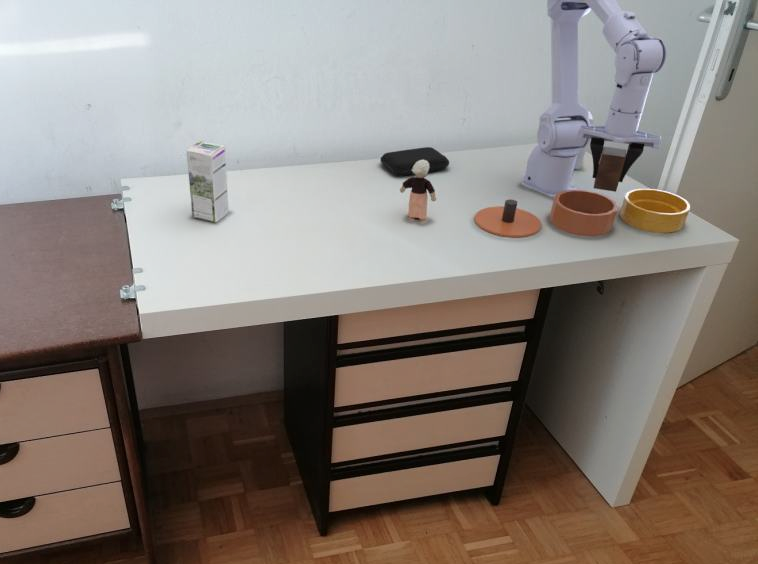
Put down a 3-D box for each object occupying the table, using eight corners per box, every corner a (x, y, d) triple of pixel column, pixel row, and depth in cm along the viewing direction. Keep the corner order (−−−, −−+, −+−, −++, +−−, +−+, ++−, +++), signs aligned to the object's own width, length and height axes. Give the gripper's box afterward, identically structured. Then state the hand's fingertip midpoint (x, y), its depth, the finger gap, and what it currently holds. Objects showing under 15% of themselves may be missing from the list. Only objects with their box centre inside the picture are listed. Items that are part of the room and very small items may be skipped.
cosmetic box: (581, 170, 171) (594, 119, 164) (562, 168, 172) (574, 118, 165) (578, 160, 176) (590, 111, 169) (560, 159, 176) (571, 109, 169)
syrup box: (229, 212, 151) (226, 144, 142) (215, 224, 146) (211, 154, 138) (206, 207, 153) (201, 139, 144) (191, 218, 148) (185, 149, 140)
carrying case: (429, 154, 178) (374, 162, 173) (430, 142, 176) (375, 149, 172) (451, 170, 170) (395, 179, 165) (453, 158, 168) (396, 166, 164)
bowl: (607, 218, 150) (613, 198, 148) (639, 203, 156) (645, 183, 154) (662, 241, 143) (670, 220, 140) (694, 223, 149) (701, 203, 146)
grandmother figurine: (435, 218, 149) (443, 159, 142) (432, 226, 146) (439, 166, 139) (398, 213, 151) (404, 154, 144) (394, 220, 148) (400, 161, 141)
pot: (537, 222, 149) (542, 199, 146) (571, 206, 155) (577, 184, 152) (588, 244, 141) (595, 221, 138) (623, 227, 147) (629, 204, 144)
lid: (460, 222, 148) (464, 199, 145) (501, 205, 155) (505, 183, 152) (512, 246, 140) (517, 222, 137) (553, 227, 147) (558, 204, 144)
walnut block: (593, 188, 142) (602, 153, 138) (594, 180, 146) (603, 146, 141) (616, 191, 141) (626, 157, 137) (616, 183, 144) (626, 149, 140)
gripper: (583, 109, 134) (566, 179, 141) (669, 120, 129) (646, 192, 137) (586, 98, 139) (570, 166, 147) (668, 108, 135) (647, 178, 143)
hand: (607, 178), depth 142 cm, fingers closed on walnut block, 4 cm apart
